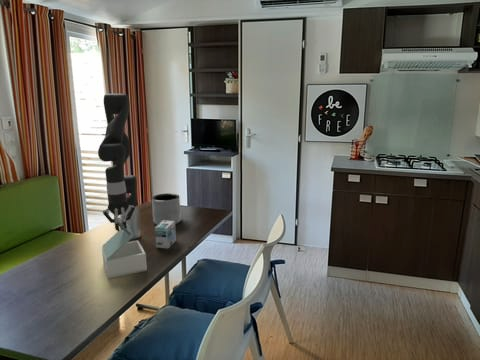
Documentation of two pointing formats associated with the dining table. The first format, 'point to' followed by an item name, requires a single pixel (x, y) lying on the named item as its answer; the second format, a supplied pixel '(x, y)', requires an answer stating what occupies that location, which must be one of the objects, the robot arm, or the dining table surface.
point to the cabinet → (125, 260)
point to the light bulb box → (165, 234)
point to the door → (117, 240)
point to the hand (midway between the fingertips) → (121, 230)
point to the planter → (166, 208)
